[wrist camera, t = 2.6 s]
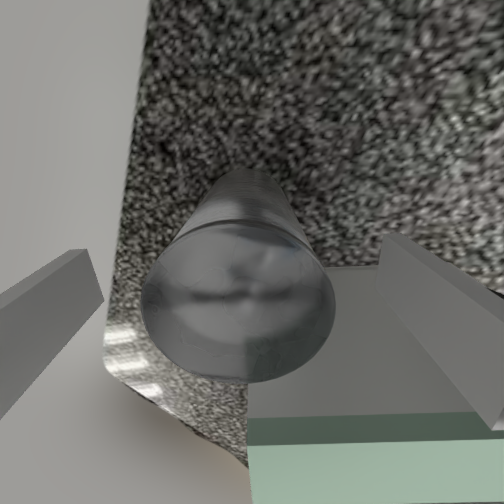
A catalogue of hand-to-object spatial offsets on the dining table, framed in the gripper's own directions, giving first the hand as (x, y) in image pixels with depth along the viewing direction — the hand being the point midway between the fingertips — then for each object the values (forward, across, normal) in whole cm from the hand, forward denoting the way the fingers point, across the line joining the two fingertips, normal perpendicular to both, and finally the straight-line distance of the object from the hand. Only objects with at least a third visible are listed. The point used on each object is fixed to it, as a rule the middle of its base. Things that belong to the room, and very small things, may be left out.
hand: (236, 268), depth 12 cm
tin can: (+8, 0, 0) cm, 8 cm away
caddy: (+8, +8, -14) cm, 18 cm away
